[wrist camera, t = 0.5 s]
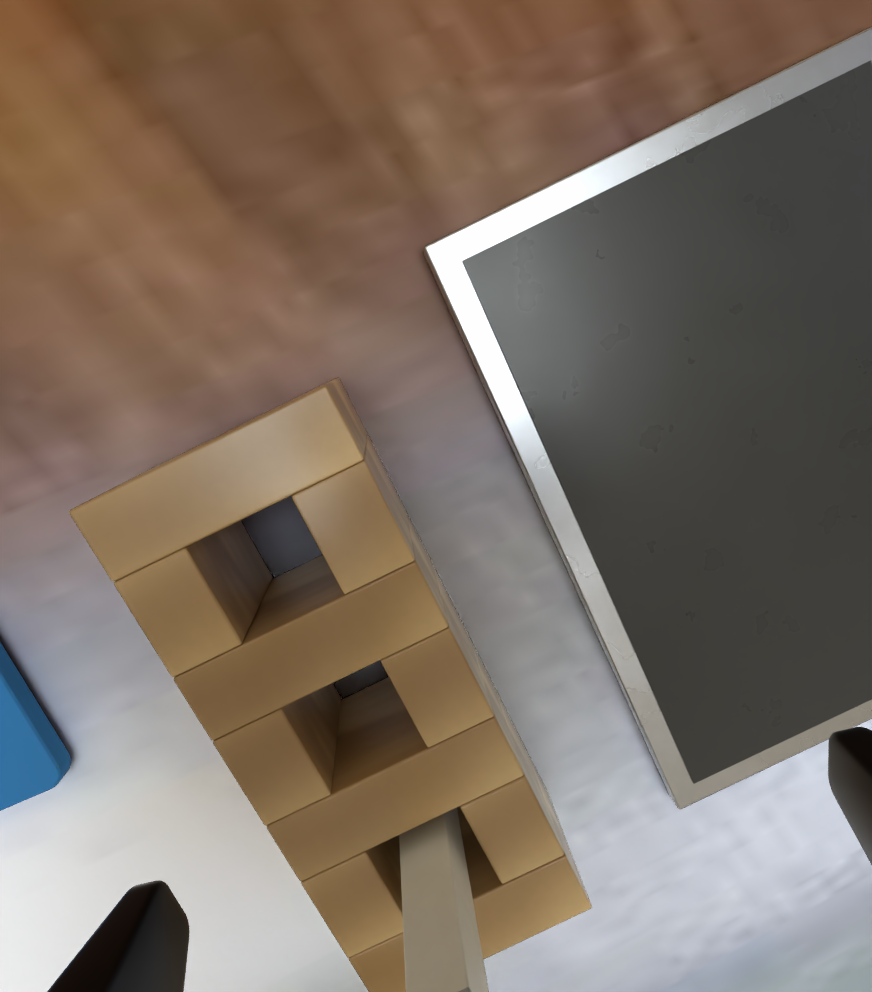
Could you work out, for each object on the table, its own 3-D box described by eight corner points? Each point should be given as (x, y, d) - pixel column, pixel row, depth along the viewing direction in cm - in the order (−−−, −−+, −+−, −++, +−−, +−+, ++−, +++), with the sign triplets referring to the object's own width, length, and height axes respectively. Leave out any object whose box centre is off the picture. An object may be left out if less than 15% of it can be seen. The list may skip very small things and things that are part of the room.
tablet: (1035, 622, 24) (1060, 633, 23) (669, 796, 24) (680, 812, 23) (866, 31, 20) (889, 16, 19) (421, 250, 20) (423, 245, 19)
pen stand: (548, 794, 24) (593, 908, 19) (378, 875, 24) (379, 1009, 19) (338, 376, 20) (325, 384, 15) (141, 473, 20) (66, 511, 15)
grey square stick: (450, 767, 23) (504, 1069, 13) (412, 785, 23) (438, 1099, 13) (432, 733, 23) (473, 1017, 13) (394, 752, 23) (406, 1049, 13)
